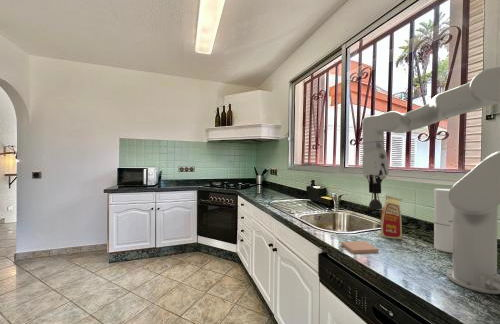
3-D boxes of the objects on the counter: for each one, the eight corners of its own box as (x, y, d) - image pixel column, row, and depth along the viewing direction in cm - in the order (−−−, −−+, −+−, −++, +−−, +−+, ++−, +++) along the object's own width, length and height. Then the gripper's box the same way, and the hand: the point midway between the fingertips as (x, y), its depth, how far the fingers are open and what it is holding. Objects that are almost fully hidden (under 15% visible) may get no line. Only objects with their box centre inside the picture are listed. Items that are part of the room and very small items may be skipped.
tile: (378, 249, 90) (352, 250, 89) (378, 253, 90) (352, 254, 89) (364, 241, 99) (341, 241, 98) (364, 245, 99) (341, 246, 98)
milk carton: (382, 237, 108) (382, 196, 108) (380, 231, 116) (380, 193, 116) (404, 239, 104) (404, 197, 104) (400, 233, 112) (401, 194, 112)
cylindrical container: (461, 253, 89) (461, 191, 89) (440, 251, 90) (441, 190, 90) (449, 246, 96) (449, 188, 96) (430, 245, 97) (430, 188, 97)
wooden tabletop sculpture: (387, 209, 86) (384, 157, 86) (375, 210, 85) (373, 158, 85) (377, 206, 91) (374, 158, 92) (366, 207, 91) (364, 158, 91)
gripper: (396, 145, 82) (398, 195, 81) (370, 148, 97) (371, 190, 97) (377, 145, 81) (379, 195, 81) (353, 148, 97) (355, 191, 96)
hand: (375, 192), depth 89 cm, fingers closed on wooden tabletop sculpture, 1 cm apart
